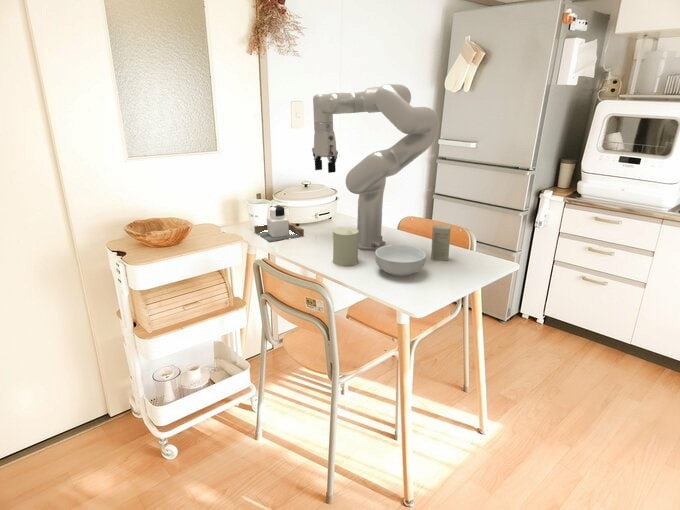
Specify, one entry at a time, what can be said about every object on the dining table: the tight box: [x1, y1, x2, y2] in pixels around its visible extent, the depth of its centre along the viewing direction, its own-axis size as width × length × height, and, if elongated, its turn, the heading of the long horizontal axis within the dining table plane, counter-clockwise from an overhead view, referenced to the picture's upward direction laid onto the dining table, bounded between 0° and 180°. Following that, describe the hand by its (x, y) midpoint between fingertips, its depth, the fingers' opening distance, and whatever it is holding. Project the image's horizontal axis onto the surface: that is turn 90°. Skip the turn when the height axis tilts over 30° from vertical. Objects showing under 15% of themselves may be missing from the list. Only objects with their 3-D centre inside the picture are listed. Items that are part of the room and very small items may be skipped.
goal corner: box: [253, 221, 305, 243], centre depth 188 cm, size 16×16×3 cm
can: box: [332, 226, 359, 267], centre depth 157 cm, size 9×9×12 cm
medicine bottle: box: [266, 205, 289, 238], centre depth 185 cm, size 7×7×12 cm
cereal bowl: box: [374, 244, 427, 277], centre depth 148 cm, size 17×17×7 cm
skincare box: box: [430, 224, 451, 262], centre depth 160 cm, size 6×4×12 cm
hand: (325, 171), depth 179 cm, fingers open, 9 cm apart
